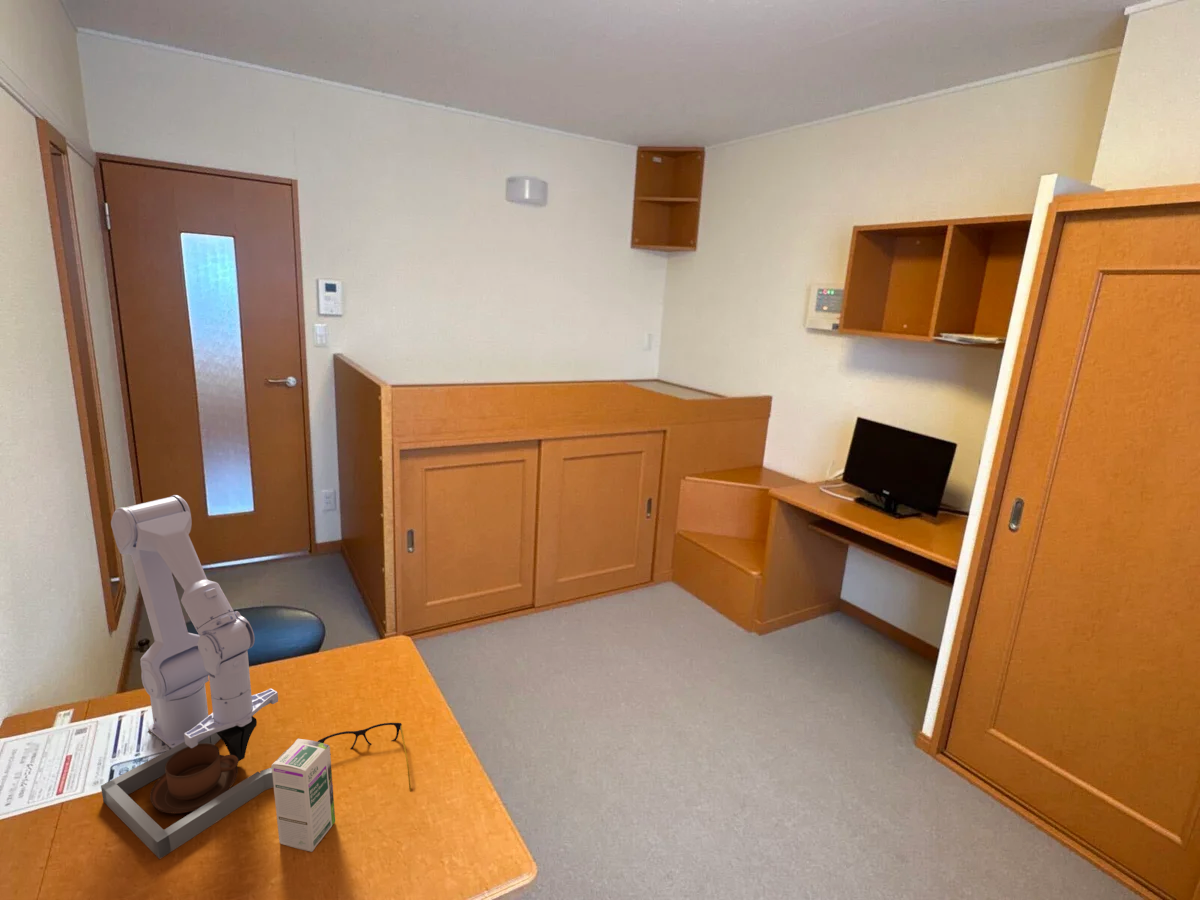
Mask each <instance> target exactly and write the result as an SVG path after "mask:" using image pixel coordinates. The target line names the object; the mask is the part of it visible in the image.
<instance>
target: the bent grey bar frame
mask: <svg viewBox="0 0 1200 900" xmlns="http://www.w3.org/2000/svg"><path fill="white" fill-rule="evenodd" d="M220 740H222V739H221V738H220V737H219V735H218V734H217V733H214V734H212V735H210V736H208V737H207V738H205V739H203V740H201V741H199V742H198V744H203V743H207V744H213V745H215V746H216V744H217V743H218V742H219V741H220ZM186 747H189V746H187V745H186V744H185V742H183V743H181V744H179V745H177V746H175V747H173V748H170V749H168V750H166V751H164V752H162V753H161V754H159V755H156V756H154V757H152V758H151V759H149V760H147V761H145V762H143V763H141V764H140V765H137V766H135V767H134V768H132V769H131V770H128V771H126V772H124V773H123V774H121V775H119V776H117V777H115V778H113V779H111V780H109V781H107V782H105V783H104V784H102V785H100V789H101V790H100V791H101V795H102V801H103V803H104V804H105V805H106V806H107V807H108V808H109V809H110V810H111V811H112V812H113V813H114V814H115V815H116V816H117V817H118V818H119V819H120V820H121V821H122V823H124V825H126V826H127V827H128V828H129V829H130V830H131V832H133V834H135V836H136V837H137V838H139V840H140V841H141V842H142V843H143V844H144V845H145V846H146V847H147V848H148V849H149V850H150V851H151V852H152V853H153V854H154V855H155V856H156V858H158V859H159V860H161V859H162V858H164V857H165V856H167V855H168V854H170V853H171V852H173V851H174V850H176V849H177V848H179V847H180V846H183V845H184V844H185V843H186V842H188V841H190V840H192V839H193V838H194V837H196V836H197V835H199V834H200V833H202V832H203V831H206V829H208V828H210V827H211V826H213V825H214V824H216V823H218V822H219V821H220V820H222V819H223V818H225V817H226V816H229V814H231V813H232V812H234V811H235V810H237V809H239V808H240V807H242V806H243V805H245V804H246V803H248V802H249V801H251V800H252V799H254V798H255V797H257V796H259V795H260V794H261V793H263V792H264V791H267V790H269V789H274V785H273V775H272V766H271V767H268V768H266V769H263V770H260V771H256V772H254V773H253V774H251V775H250V776H248V777H246V778H244V779H243V780H242V781H240V782H239V783H236V785H234V786H231V788H230V789H229V790H227V791H226V792H224V793H222V794H221V795H219V796H218V797H216V798H214V799H213V800H211V801H210V802H208V803H206V804H205V805H203V806H202V807H200V808H198V809H197V810H194V811H191V812H189V814H187V815H186V816H184V817H183V818H181V819H179V820H177V821H175V822H174V823H172V824H171V825H170V826H168V827H166V828H165V829H163V828H162V827H161V826H160V825H159V824H158V823H157V821H155V820H154V819H153V818H152V817H151V816H150V814H148V813H147V812H146V811H145V810H144V809H143V808H142V807H141V806H139V804H137V803H136V801H134V800H133V798H132V797H130V796H129V795H130V794H132V793H134V792H135V791H137V790H139V789H141V788H143V787H145V786H146V785H148V784H150V783H151V782H153V781H156V780H158V779H159V778H160V777H161V776H162V775H163V774H165V773H166V771H165V766H166V763H167V761H168V760H169V759H170V758H171V757H172V756H173V755H174V754H175V753H177V752H178V751H180V750H182V749H184V748H186Z"/></svg>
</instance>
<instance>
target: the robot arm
mask: <svg viewBox="0 0 1200 900" xmlns="http://www.w3.org/2000/svg"><path fill="white" fill-rule="evenodd" d="M192 519H193V518H192V512H191V508H190V506H189V504H188V502H187V501H186V500H185V499H184V498H183V497H182V496H180V495H178V494H173V495H170V496H168V497H163V498H158V499H154V500H151V501H147V502H142V503H138V504H135V505H134V504H133V505H129V506H126V507H123V506H121V507H118V508H115V510H114V512H113V513H112V516H111V520H110V526H111V529H112V534H113V538H114V540H115V545H116V547H117V549H118V552H119V553H120V555H129V556H130V557H131V562H132V564H133V568H134V572H135V574H136V578H137V581H138V582H137V583H138V585H139V586H138V587H139V588H140V593H141V596H142V599H143V603H144V607H145V611H146V614H147V617H148V621H149V625H150V628H151V632H152V635H153V641H154V642H153V643H152V644H151V645H150V647H149V648H148V649H147V650H146V651H145V652H144V654H143V655H142V656H141V658H140V659H139V660H140V669H141V676H140V677H141V682H142V686H143V688H144V691H145V692H146V693H147V695H149V698H150V700H149V701H150V705H151V706H150V707H151V712H152V719H153V720H152V722H153V723H151V724H150V725H149V726H148V727H147V729H148V731H150V732H151V733H152V734H153V735H155V736H156V738H158V739H159V740H161V741H162V743H164V744H165V745H167V746H168V747H169V748H170V749H172V748H173V747H175V746H177V745H179V744H181V743H183V742H185V744H186V745H187V746H189V747H190V748H193V747H195V746H197V745H198V742H199V741H201V740H203V739H205V738H207V737H208V736H210V735H212V734H214V733H217V734H218V735H219V737H220V738H221V739H220V740H222V742H223V744H224V745H225V747H226V749H227V751H228V752H229V755H235V756H236V757H237V758H238V761H239V762H240V761H242V760H244V759H245V758H246V757H245V756H246V752H247V748H248V745H249V744H248V743H249V741H250V737H251V736H252V733H253V731H254V730H255V728H256V727H257V723H258V722H257V718H256V717H254V716H255V714H257V713H258V712H259V711H260V710H261V709H262V708H264V707H266V706H268V705H270V704H272V705H275V704H276V703H278V702H279V694H278V691H277V690H274V689H273V688H268V689H267V690H264V691H262V692H259V693H255V694H252V685H251V675H250V665H249V664H250V663H249V654H248V650H249V649H251V648H252V647H253V646H254V644H255V641H256V640H255V633H254V630H253V628H252V626H251V624H250V621H248V620H247V618H246V617H244V616H242V615H241V613H240V612H239V611H238V610H235V611H234V609H233V608H232V606H231V603H230V602H229V600H228V598H227V596H226V595H225V593H224V591H223V589H222V588H221V586H220V583H218V582H217V581H214V580H213V581H212V580H209V579H208V577H207V576H206V573H205V570H204V569H203V566H202V564H201V562H200V558H199V557H198V554H197V552H196V549H195V546H194V544H193V542H192V540H191V537H190V535H189V534H190V533H191V531H192V526H193V525H192V522H193V521H192ZM173 576H174V577H173ZM174 578H175V579H176V581H177V582H178V583H179V585H180V586H181V588H182V589H183V593H182V596H181V598H180V599H179V594H178V591H177V588H176V583H175V579H174ZM181 604H182V605H181ZM182 607H183V608H184V610H185V612H186V613H187V615H188V617H189V619H190V621H191V623H192V625H193V626H194V629H195V631H196V632H197V633H198V634H197V633H192V632H189V631H188V628H187V623H186V621H185V617H184V613H183V609H182ZM208 682H209V690H210V698H211V707H212V712H211V713H210V714H209V709H208V699H207V693H206V692H207V691H206V683H208Z"/></svg>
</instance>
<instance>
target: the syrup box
mask: <svg viewBox="0 0 1200 900" xmlns="http://www.w3.org/2000/svg"><path fill="white" fill-rule="evenodd" d="M330 754H331V746H330V745H329V744H327V743H325V742H324V743H320V742H318V741H315V740H310V739H302V738H297V739H296V740H295V741H294V742H293V744H292V745H290V746H289V747H288V748H287V749H286V750H285V751H283V752H282V754H281V755H280V756H279V757H278V758H277V759H276V760H275V761H274V762H273V763H272V764H271V767H272V775H273V785H274V787H273V794H274V803H275V812H276V813H275V814H276V820H277V821H276V822H277V824H276V825H277V833H278V841H279V844H281V845H284V846H287V847H289V848H290V847H291V848H295V849H297V850H302V851H306V852H311V853H312V852H314V850H315V848H316V847H317V846H318V845H319V843H320V842H321V841H322V840H323V838H324V837H325V836H326V834H327V833H328V832H329V831H330V830H331V828H332V827H333V825H334V824H335V823H336V812H335V801H334V785H333V772H332V757H331V755H330Z"/></svg>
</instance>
